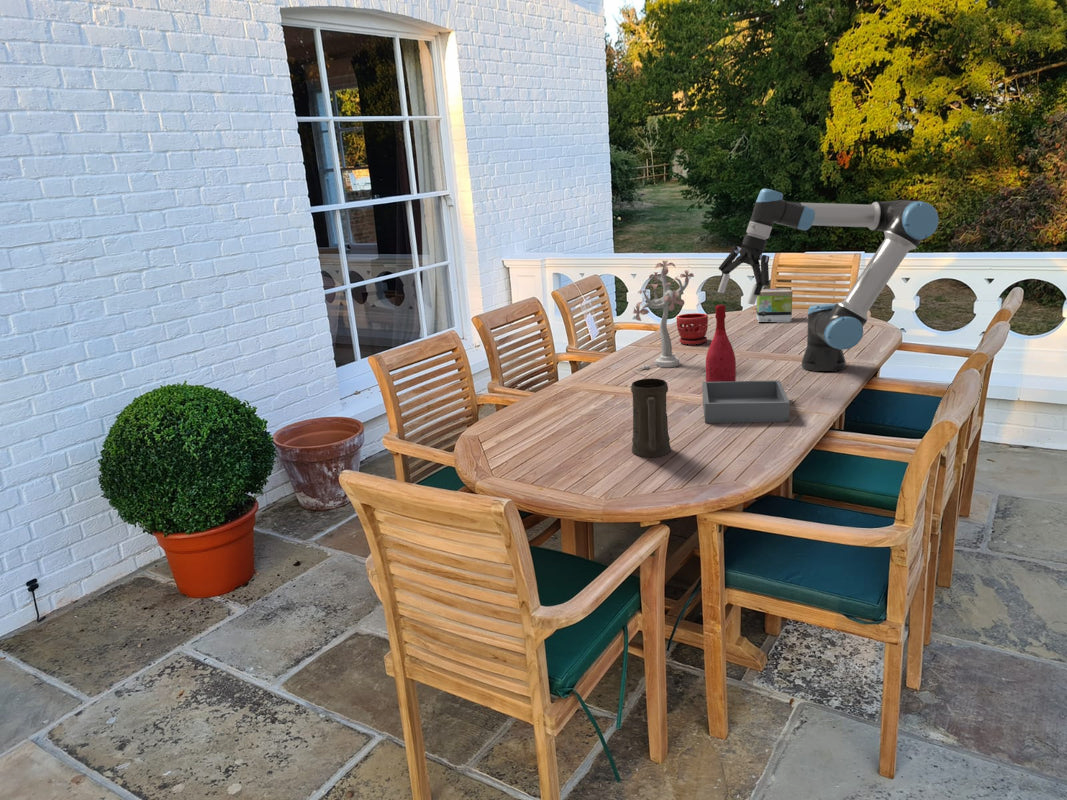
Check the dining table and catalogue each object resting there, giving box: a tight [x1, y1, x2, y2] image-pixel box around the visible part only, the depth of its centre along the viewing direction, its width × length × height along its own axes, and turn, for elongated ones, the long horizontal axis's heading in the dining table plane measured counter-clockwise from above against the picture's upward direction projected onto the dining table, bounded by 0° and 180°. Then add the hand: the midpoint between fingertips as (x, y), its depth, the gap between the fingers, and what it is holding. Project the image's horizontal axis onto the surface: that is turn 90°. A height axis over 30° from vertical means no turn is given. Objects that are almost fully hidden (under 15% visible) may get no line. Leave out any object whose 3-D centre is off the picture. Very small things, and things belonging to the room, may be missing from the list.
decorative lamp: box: [632, 259, 695, 377], centre depth 304 cm, size 28×24×40 cm
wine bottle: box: [705, 303, 737, 382], centre depth 266 cm, size 10×10×30 cm
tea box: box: [755, 287, 793, 323], centre depth 372 cm, size 15×10×15 cm
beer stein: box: [630, 378, 672, 458], centre depth 217 cm, size 15×11×20 cm
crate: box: [702, 379, 791, 424], centre depth 250 cm, size 24×24×6 cm
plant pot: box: [676, 312, 709, 346], centre depth 342 cm, size 13×13×12 cm
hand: (735, 298), depth 271 cm, fingers open, 13 cm apart
